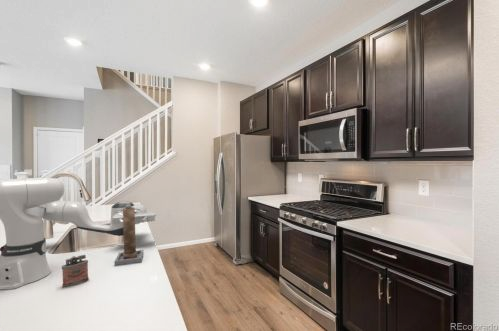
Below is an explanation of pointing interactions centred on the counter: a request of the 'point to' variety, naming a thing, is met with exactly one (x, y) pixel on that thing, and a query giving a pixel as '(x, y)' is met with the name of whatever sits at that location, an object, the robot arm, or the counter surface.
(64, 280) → the lighter
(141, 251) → the tray
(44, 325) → the counter surface
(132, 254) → the pepper mill
